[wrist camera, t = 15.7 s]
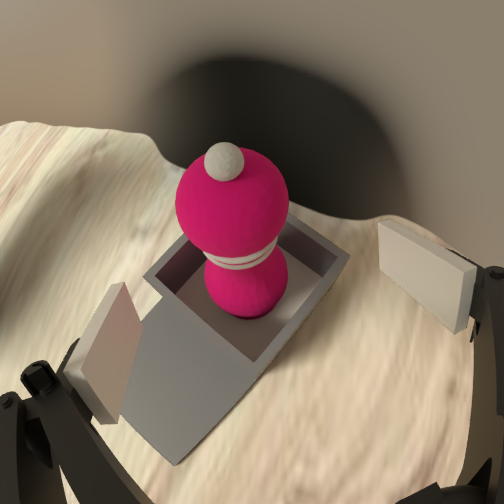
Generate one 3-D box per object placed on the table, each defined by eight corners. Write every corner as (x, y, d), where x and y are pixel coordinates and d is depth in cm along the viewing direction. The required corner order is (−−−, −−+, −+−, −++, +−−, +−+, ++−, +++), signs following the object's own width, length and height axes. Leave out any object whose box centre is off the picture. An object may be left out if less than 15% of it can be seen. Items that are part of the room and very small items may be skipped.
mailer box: (93, 379, 28) (57, 375, 22) (243, 214, 35) (237, 179, 29) (175, 465, 24) (153, 483, 18) (335, 280, 31) (350, 255, 25)
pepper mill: (284, 256, 32) (300, 96, 14) (286, 325, 29) (316, 222, 11) (215, 256, 32) (158, 104, 14) (211, 324, 29) (123, 225, 11)
